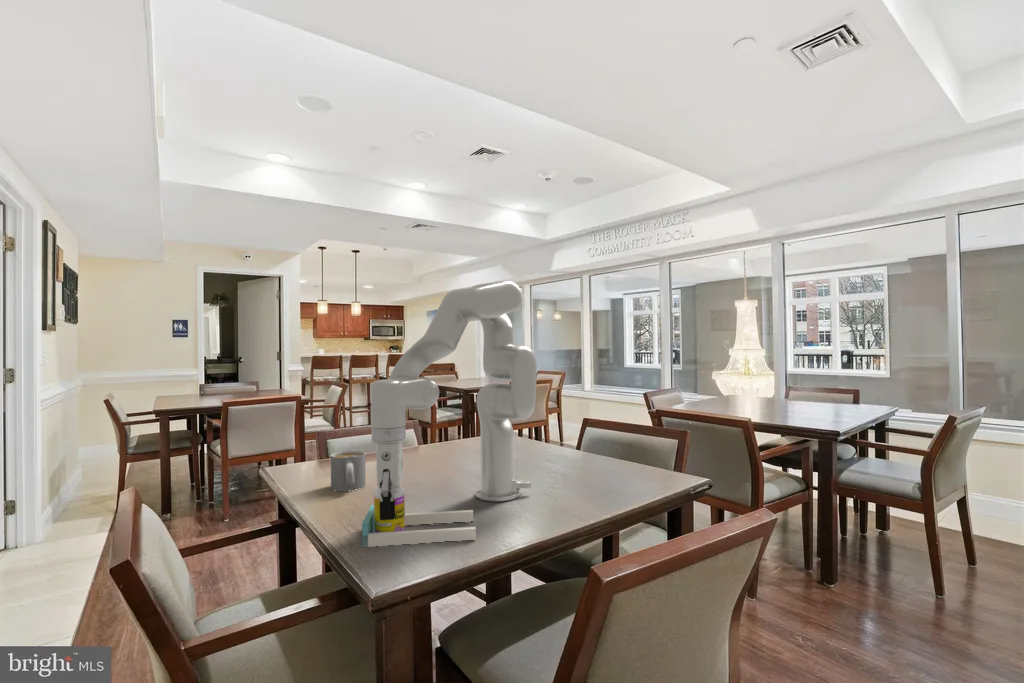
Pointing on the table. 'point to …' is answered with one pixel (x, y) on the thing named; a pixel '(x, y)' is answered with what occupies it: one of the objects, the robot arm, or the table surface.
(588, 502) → the table surface
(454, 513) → the guide track
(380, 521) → the supplement bottle
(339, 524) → the table surface
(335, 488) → the coffee mug
